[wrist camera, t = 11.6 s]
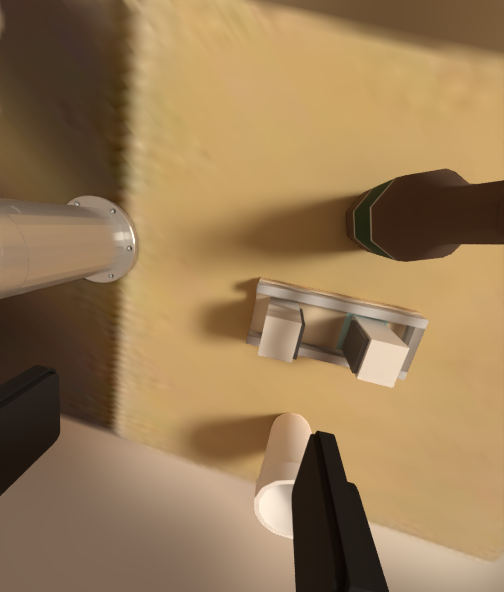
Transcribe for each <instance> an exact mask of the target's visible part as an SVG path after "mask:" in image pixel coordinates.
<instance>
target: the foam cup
mask: <svg viewBox="0 0 504 592" xmlns="http://www.w3.org/2000/svg"><path fill="white" fill-rule="evenodd" d="M311 434H312V432H311V429H310V426H309V424H308V422H307V420H305V419H304V418H303V417H302V416H300V415H297V414H294V413H285V414H282V415H280V416H278V417H276V419H275V421H274V422H273V425H272V428H271V431H270V435H269V439H268V443H267V447H266V451H265V455H264V459H263V463H262V467H261V471H260V475H259V478H258V479H257V481H256V490H255V499H254V512H255V514H256V515H257V517H258V519H259V520H260V522H261V524H262V525H263V526H265V527H266V528H267V529H269V530H270V531H272V532H273V533H274V534H277V535H280V536H283V537H286V538H290V539H293V525H292V505H291V495H292V489H293V486H294V483H295V479H296V476H297V473H298V470H299V467H300V464H301V461H302V458H303V455H304V452H305V449H306V446H307V443H308V440H309V437H310V435H311Z"/></svg>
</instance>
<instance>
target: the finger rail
mask: <svg viewBox="0 0 504 592" xmlns="http://www.w3.org/2000/svg"><path fill="white" fill-rule="evenodd" d="M256 293H257V295H256V300H255V305H254V310H253V315H252V320H251V325H250V330H249V333H248V335H247V340H246V343H247V344H251V345H256V346H260V347H259V351H258V355H260V356H264V357H268V358H272V359H277V360H281V361H285V362H289V363H292V359H297V355H299V356H303V357H307V358H312V359H316V360H320V361H324V362H329V363H333V364H337V365H342V366H346V367H349V364H348V362H347V360H346V358H345V356H344V353H343V351H342V346H343V343H344V340H345V337H346V334H347V332H348V329H349V326H350V323H351V320H352V317H353V315H357V316H361V317H365V318H369V319H373V320H378V321H382V322H383V323H384V324H385V325H386V326H387V327H388V328H389V329H390V330H391V331H393V332H394V333H395V334H396V335H397V336H398V337H399V338H400V339H401V340H402V341H403V342H404V343H405V344H406V345H407V346H408V347H409V348H410V349H409V351H408V353H407V356H406V358H405V360H404V363H403V365H402V367H401V370H400V372H399V374H398V377H397V378H398V379H402V380H404V379H405V377H406V375H407V372H408V370H409V367H410V365H411V362H412V360H413V358H414V355H415V353H416V350H417V348H418V345H419V343H420V341H421V338H422V336H423V333H424V331H425V328H426V326H427V324H428V321H429V320H427V319H426V318H424V317H423V316H421V313H419V312H418V311H416V310H412V309H408V308H403V307H398V306H393V305H389V304H384V303H379V302H375V301H370V300H365V299H360V298H356V297H351V296H346V295H342V294H337V293H332V292H327V291H323V290H318V289H313V288H309V287H304V286H299V285H294V284H290V283H285V282H280V281H275V280H271V279H266V278H260V280H259V282H258V285H257V290H256Z"/></svg>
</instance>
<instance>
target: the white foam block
mask: <svg viewBox="0 0 504 592" xmlns="http://www.w3.org/2000/svg"><path fill="white" fill-rule="evenodd" d="M409 349H410V348H409V347H408V346H407V345H406V344H405V343H404V342H403V341H402V340H401V339H400V338H399V337H398V336H397V335H396V334H395V333H394V332H393V331H391V330H390V329H389V328H388V327H387V326H386V325H385V324H384V323H383V322H382V321H378V320H373V319H369V318H365V317H361V316H357V315H353V317H352V320H351V323H350V326H349V329H348V332H347V334H346V337H345V340H344V343H343V346H342V351H343V353H344V356H345V358H346V360H347V362H348V364H349V367H350V369H351V371H352V373H355V376H356V378H357V379H360V380H364V381H368V382H372V383H376V384H380V385H383V386H387V387H391V388H393V386H394V384H395V381H396V379H397V377H398V374H399V372H400V370H401V367H402V365H403V363H404V360H405V358H406V356H407V353H408V351H409Z"/></svg>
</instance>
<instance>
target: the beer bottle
mask: <svg viewBox="0 0 504 592" xmlns="http://www.w3.org/2000/svg"><path fill="white" fill-rule="evenodd" d="M346 221H347V236H348V237H349V238H350V239H351V240H353V241H354V242H355V243H356V244H358V245H359V246H360V247H361V248H363V249H364V250H366V251H367V252H370V253H374V254H377V255H380V256H383V257H387V258H390V259H393V260H396V261H404V262H408V261H417V260H425V259H434V258H443V257H445V256H447V255H450V254H452V253H453V252H454V251H455V250H456V249H457V248H458V247H459V246H460V245H461V244H504V180H503V181H496V182H489V183H482V184H469V183H468V182H467V181H466V180H464V179H463V178H462V177H461V176H460V175H459V174H457V173H456V172H454V171H451V170H449V169H441V170H435V171H429V172H423V173H417V174H410V175H405V176H401V177H397V178H395V179H392V180H390V181H388V182H386V183H383V184H381V185H379V186H377V187H374V188H372V189H370V190H368V191H366V192H364V193H363V194H362V195H361V196H360V197H359V198H358V200H357V201H356V202H355V203H354V204H353V206H352V207H351V208H350V209H349V210H348V212H347V213H346Z"/></svg>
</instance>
